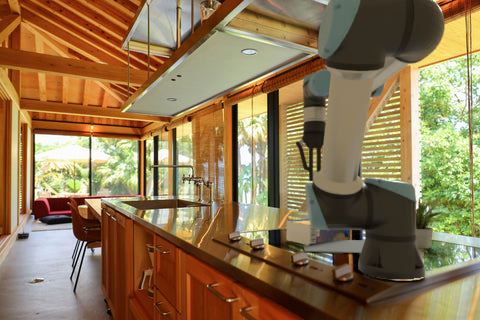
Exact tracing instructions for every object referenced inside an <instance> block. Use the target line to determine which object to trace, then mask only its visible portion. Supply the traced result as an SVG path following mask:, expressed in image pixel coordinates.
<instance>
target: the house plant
mask: <svg viewBox="0 0 480 320" xmlns="http://www.w3.org/2000/svg"><path fill="white" fill-rule="evenodd" d="M432 201H433V199H431V200H429V201H428V202H427V203H426V204H425V202H424V201H422V203H421V197H419V198H418V201H417V206H418V207H417V208H416V244H417V247H418V249H430V248H431V243H432V239H433V238H432V237H433V232H434V228H432V227H429V225H430V224H431V223H433V222H435V221H438V222H442V223H443V222H444V221H443V219H442V218H444V217H440V216H439V215H442V214H443V215H444V214H445V212H440V211H439V212H433V213H431V212H432V211H434V210H437V209H440V208H439V207H440V206H441V204H440V203H439V204H435V205H434V206H432V208H430V209H429V210H428V211H427V212H425V211H426V210H427V207H428V206H429V204H430V203H431V202H432ZM437 207H438V208H437ZM424 213H425V214H424ZM435 216H439V217H435Z"/></svg>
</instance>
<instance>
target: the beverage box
mask: <svg viewBox="0 0 480 320" xmlns="http://www.w3.org/2000/svg"><path fill="white" fill-rule="evenodd" d="M351 231H352V230H329V231H328V230H322V229H315V228H313V227H312V225H311V223H310V220H309V218H302V219H294V220H293V219H290V220H286V235H285V236H286V241H288V242H289V241H290V242H293V243H297V244H302V245H303V244H305V245H315V244H320V243H325V242H331V241H336V240H348V239H349V240H351Z"/></svg>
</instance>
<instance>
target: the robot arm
mask: <svg viewBox="0 0 480 320" xmlns="http://www.w3.org/2000/svg"><path fill="white" fill-rule="evenodd" d="M445 25H446V23H445V17H444V13H443V11H442V9H441V7H440V6H439V4H438V3H437V2H436V1H435V0H328V3H327V5H326V7H325V9H324V12H323V15H322V18H321V23H320V26H319V31H318V38H317V53H318V56H319V57H320V58H322V59H323V60H324V67H325V68H326V69H325V68H324V69H319V70H317V71H316V72H315V73H310V74H308V75H305V76H304V77H303V85H302V93H303V94H302V95H303V97H302V99H303V100H302V101H303V102H302V103H303V108H302V109H303V111H302V114H303V116H302V117H303V118H302V120H303V124H302V125H303V126H302V127H303V128H302V129H303V130H302V131H303V134H302V137H301V139H300V140H299V141H296V142H295V146H296V147H297V149H298V150H299V151H298V152H299V155H300V156H299V157H300V159H301V163H302V168H303V170H305V171H307V172H308V180H309V182H308V183H306V184H305V201H306V208H307V209H306V210H307V215H308V219H309V220H310V223H311V225H312V227H313V228H315V229H322V230H328V231H329V230H351V231H353V230H354V231H364V232H365V234H364V236H365V239H364V240H365V242H364V245H363V248H362V251H361V254H359V258H358V263H357V264H358V271H359V270H360V271H361V272H362V273H361V272H360V271H359V272H360V273H361V274H363V273H364V274H363V275H365V274H367V275H370V276H374V277H380V278H386V279H414V278H421V277H424V276H425V277H426V267H425V264H424V261H423V259H422V256H421V254H420V250H419V248H418V247H417V244H416V210H417V204H418V201H417V195H416V189H415V187H414V185H413V184H411V183H409V182H407V181H405V182H404V181H399V180H390V179H383V178H382V179H381V178H373V177H366V178H364V181H363V179H362V178H361V177H360V176H359V170H360V169H359V168H360V164H361V163H360V162H361V159H362V151H363V145H364V141H365V140H364V139H365V133H366V128H367V122H368V117H369V116H368V115H369V110H370V104H371V98H377V97H380V96H381V95H382V92H383V91H384V88H385V83H387V81H389V80H391V78H393V77H395V76H396V75H397V74H398V73H399V72H401V71H402V70H403V69H404V68H406V67H407V66H408V65H410V64H411V65H412V64H417V63H420V62H421V61H423V60H425V59H426V58H427V57H429V55H431V54H432V53H433V52H434V51H435V50H436V49H437V47H438V46H439V45H440V43H441V41H442V39H443V36H444V33H445V28H446V27H445ZM326 105H327V106H326ZM304 145H305V147H307V148H308V163H307V160H306V156H305V152H304V147H303V146H304ZM314 149H315V150H316V171H314ZM367 275H366V276H367ZM370 276H369V277H370ZM374 277H373V278H374Z"/></svg>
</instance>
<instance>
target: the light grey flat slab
mask: <svg viewBox="0 0 480 320" xmlns="http://www.w3.org/2000/svg"><path fill="white" fill-rule="evenodd" d="M364 242H365V239H364V240H363V239H362V240H361V239H359V240H356V239H353V240H352V239H349V240H336V241H331V242H325V243H320V244H315V245H305V244H302V247H303V251H304V253H311V252H323V253H322V254H343V253H359V254H358V255H360V254H361V251H362V248H363V245H364Z"/></svg>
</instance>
